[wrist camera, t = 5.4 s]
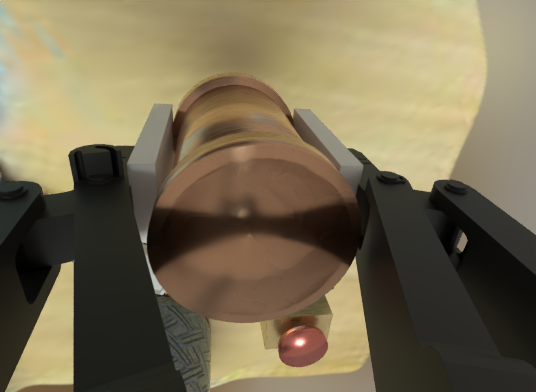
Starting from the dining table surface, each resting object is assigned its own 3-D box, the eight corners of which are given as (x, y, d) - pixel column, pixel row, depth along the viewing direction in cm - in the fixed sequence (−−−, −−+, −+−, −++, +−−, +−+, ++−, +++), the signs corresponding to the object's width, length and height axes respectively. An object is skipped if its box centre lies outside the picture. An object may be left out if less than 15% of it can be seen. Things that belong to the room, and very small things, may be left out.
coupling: (170, 69, 15) (135, 143, 7) (296, 76, 16) (383, 148, 8) (175, 185, 18) (155, 329, 10) (284, 185, 19) (341, 316, 11)
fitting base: (225, 176, 34) (233, 241, 25) (353, 176, 36) (405, 236, 27) (223, 290, 41) (228, 375, 31) (331, 284, 43) (367, 362, 33)
